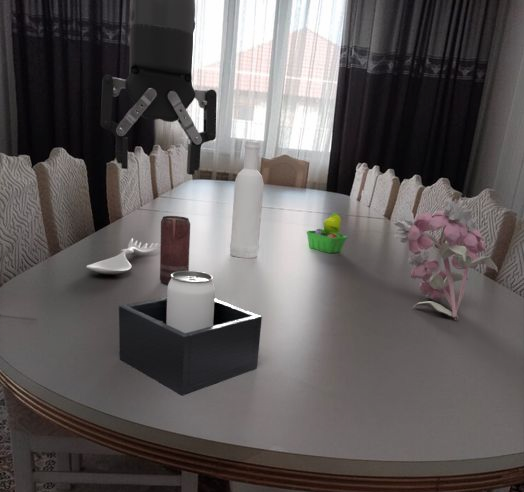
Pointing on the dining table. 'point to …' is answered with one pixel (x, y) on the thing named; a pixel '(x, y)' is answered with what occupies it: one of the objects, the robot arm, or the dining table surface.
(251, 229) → the bottle
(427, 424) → the dining table surface
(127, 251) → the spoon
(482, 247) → the flower
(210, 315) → the can
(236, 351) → the basin
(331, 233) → the green easter basket
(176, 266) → the can
